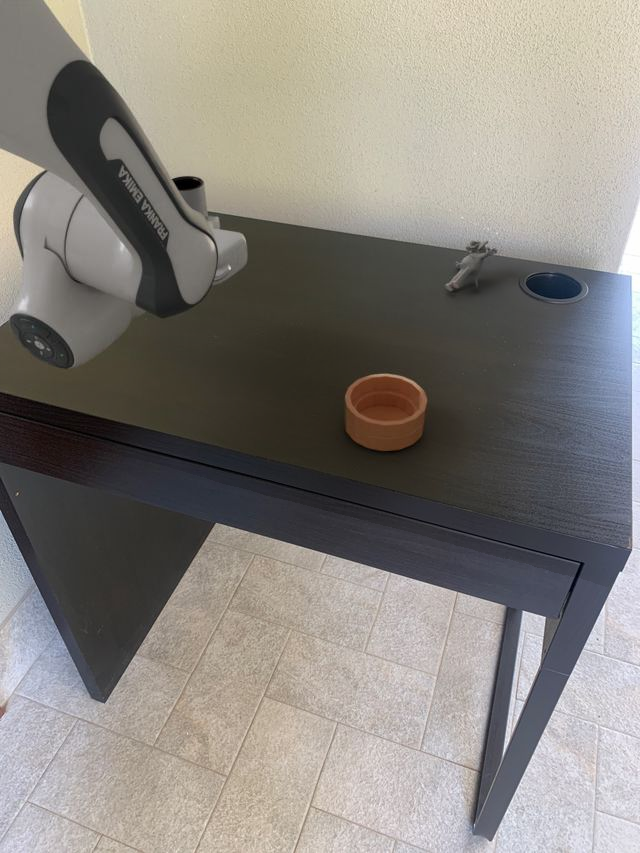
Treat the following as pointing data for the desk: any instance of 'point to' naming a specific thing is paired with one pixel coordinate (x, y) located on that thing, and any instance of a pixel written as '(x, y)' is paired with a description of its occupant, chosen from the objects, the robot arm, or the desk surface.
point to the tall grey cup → (192, 192)
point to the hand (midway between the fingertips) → (193, 218)
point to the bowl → (385, 412)
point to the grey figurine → (470, 263)
